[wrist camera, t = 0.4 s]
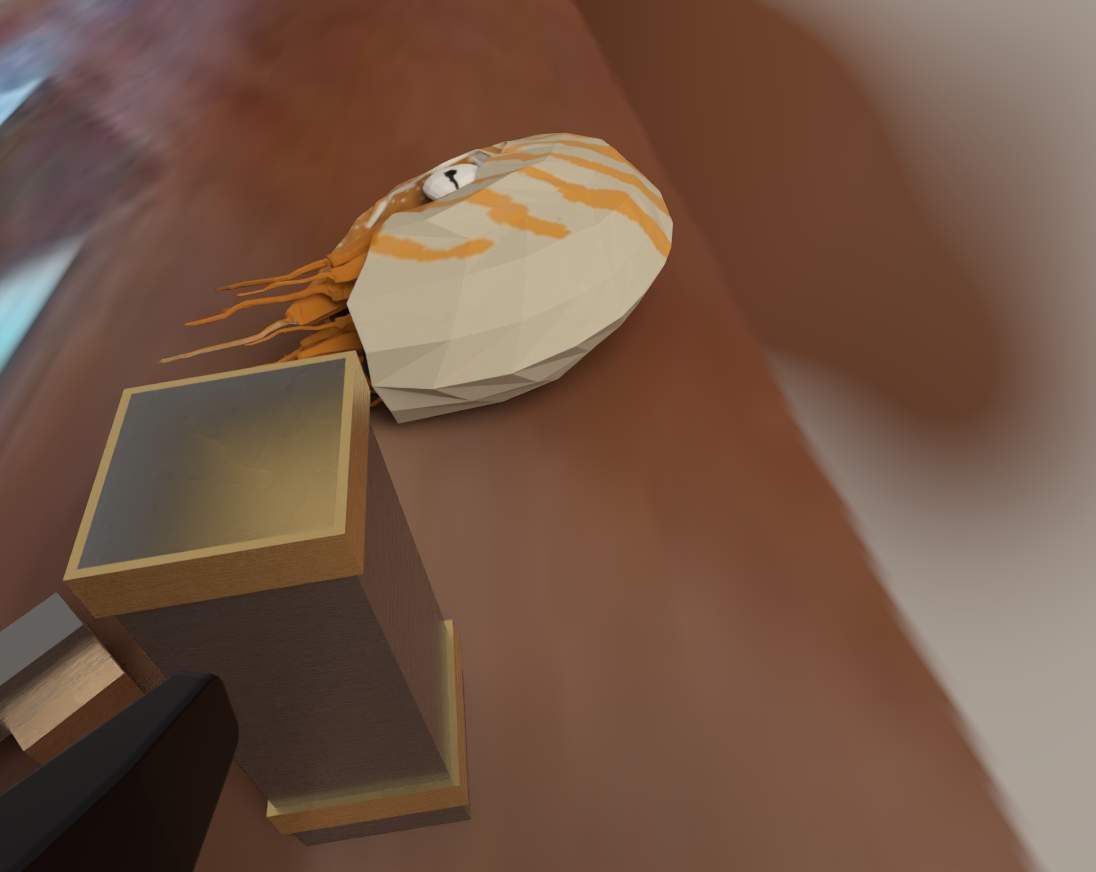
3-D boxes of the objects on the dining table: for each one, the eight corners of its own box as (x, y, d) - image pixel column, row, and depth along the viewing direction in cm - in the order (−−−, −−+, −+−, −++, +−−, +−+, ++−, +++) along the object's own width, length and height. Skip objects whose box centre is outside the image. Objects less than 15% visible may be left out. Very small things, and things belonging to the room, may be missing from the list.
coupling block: (478, 825, 25) (345, 533, 16) (298, 854, 25) (62, 580, 16) (469, 665, 29) (355, 350, 19) (311, 690, 29) (124, 389, 20)
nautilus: (201, 560, 34) (213, 335, 45) (746, 384, 35) (627, 206, 46) (87, 404, 29) (131, 191, 39) (733, 201, 29) (602, 48, 40)
